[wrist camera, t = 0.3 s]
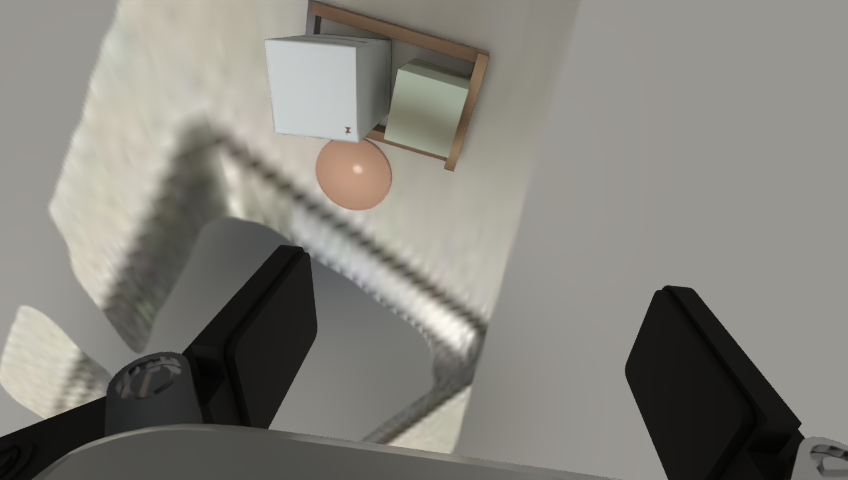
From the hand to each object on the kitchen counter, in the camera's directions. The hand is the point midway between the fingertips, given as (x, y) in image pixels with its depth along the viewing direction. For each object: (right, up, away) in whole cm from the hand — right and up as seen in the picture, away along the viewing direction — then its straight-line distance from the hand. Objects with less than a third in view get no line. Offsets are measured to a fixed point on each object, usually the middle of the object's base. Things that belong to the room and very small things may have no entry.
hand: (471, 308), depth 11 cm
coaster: (-10, +10, +36) cm, 39 cm away
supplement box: (-8, +19, +31) cm, 37 cm away
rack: (-5, +18, +31) cm, 36 cm away
